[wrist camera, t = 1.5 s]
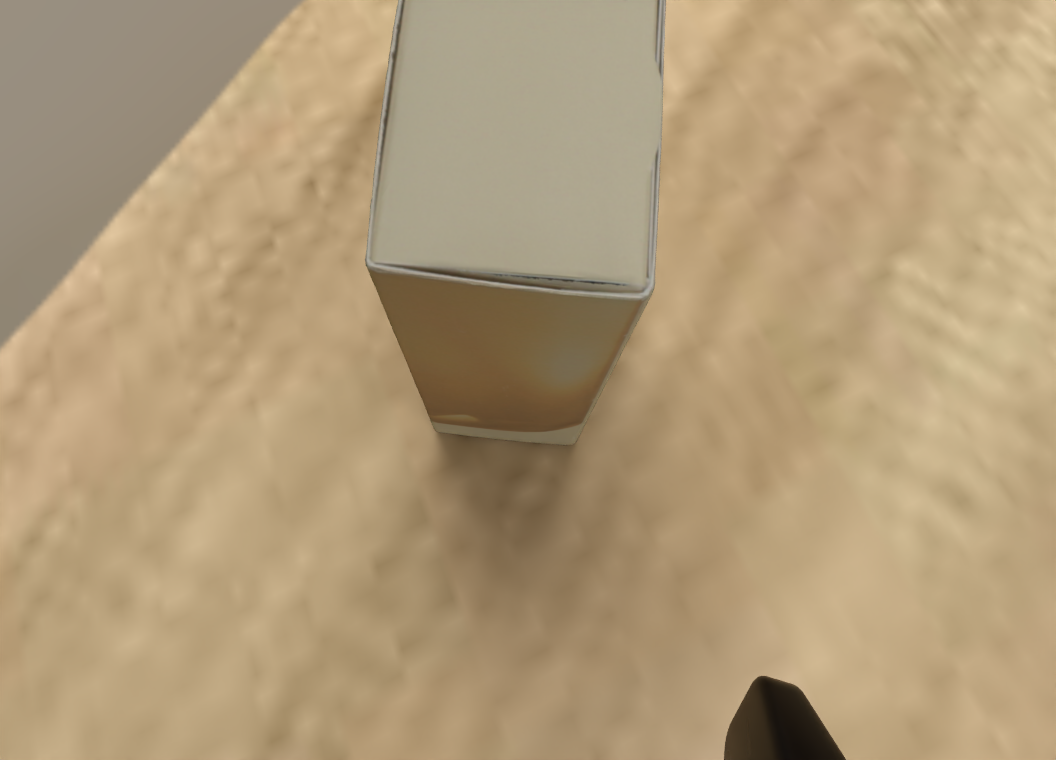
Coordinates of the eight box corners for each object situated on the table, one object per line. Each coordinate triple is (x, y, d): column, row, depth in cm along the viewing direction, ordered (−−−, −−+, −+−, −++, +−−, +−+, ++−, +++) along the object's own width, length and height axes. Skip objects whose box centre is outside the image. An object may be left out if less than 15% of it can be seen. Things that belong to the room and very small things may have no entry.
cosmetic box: (453, 243, 24) (408, -94, 13) (591, 256, 24) (673, -70, 13) (429, 444, 23) (349, 268, 11) (579, 457, 23) (660, 296, 11)
